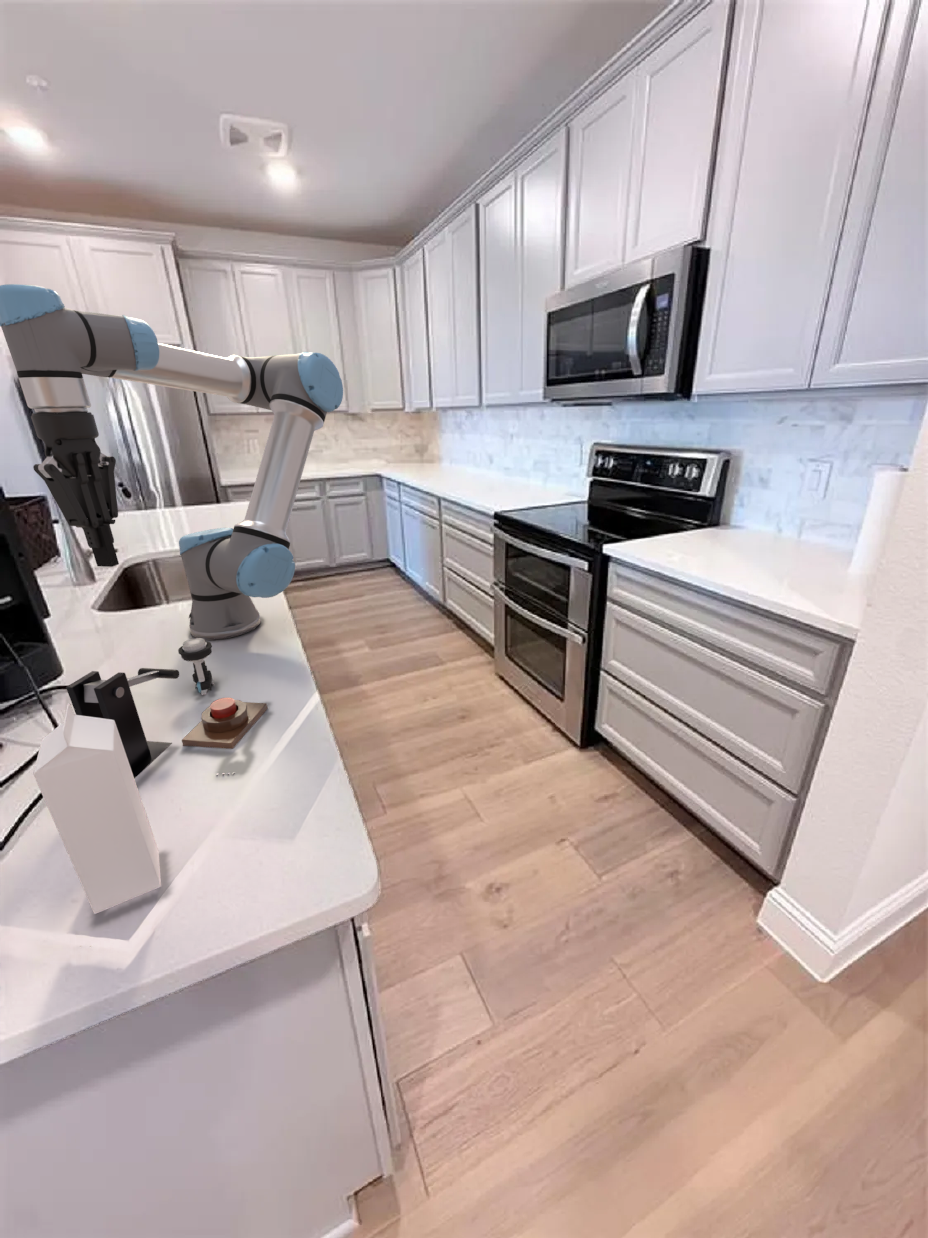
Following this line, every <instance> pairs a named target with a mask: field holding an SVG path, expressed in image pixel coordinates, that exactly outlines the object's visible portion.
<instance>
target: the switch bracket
mask: <svg viewBox="0 0 928 1238" xmlns="http://www.w3.org/2000/svg"><path fill="white" fill-rule="evenodd" d="M127 678H128V677H127V674H126V672H117V673H115V674H114V675H112V676H110V677H109V678H107V679H105V680H106V681H105V682H103V683H102V684H100V685H98V686H97V687H95V688H94V691H95V694H96V697H97V700H98V703H90V702H85V700H84V686H83V685H84V684H88V683H91V682H95V681H99V680H102V678H101V674H100V671H97V670H91V671H90V672H89V673H87V674H85V675H84V676H82V677H80V678H79V679H77V680H75V681H74V682H72V683H70V684H68V685H67V686H66V687H65V689H66V692H67V695H68V697H69V700H70V702H71V706H72V707H73V708H72V709H73V710H74V714H75V715H81V716H89V717H96V718H104V719H111V720H114V721H115V723H116V726H117V729H118V732H119V735H120V738H121V741H122V744H123V747H124V750H125V753H126V756H127V759H128V762H129V764H130V767H131V770H132V773H133V776H134V779H136V778H137V777H139V775H141V774H142V773H143V772H144V771H145V770H146V769H147V768H148V767H149V766H150V765H151V764H152V763H153V762H154V761H155V760H156V759H157V758H158V757H159V756H161V754H163V753H164V752H165V751H166V750H167V749H168V748H169V747H170V746H171V745H173V742H167V741H151V740H147V738H146V734H145V731H144V729H143V724H142V721H141V718H140V716H139V713H138V710H137V706H136V703H135V700H134V697H133V694H132V691H131V688H130V687H131V686H130V687H129V684H128V681H127Z"/></svg>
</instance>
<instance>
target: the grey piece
mask: <svg viewBox="0 0 928 1238" xmlns="http://www.w3.org/2000/svg"><path fill="white" fill-rule="evenodd" d="M212 647H213V644H212V642H210V641H209V640H206V639H203V638H196V637H194V638H190V639H187V640H185V641H183V643H182V645H181V646H180V647H179V648H178V649H177V652H178V654H179V655H180V658H182V660H183V661H186V662H191V663H192V665H193V666H192V667H193V674H192V675H191V676H192V677H191V678H192V681H193V682H194V689H195V690H196V689H197V690H198V691H197V692H198V694H200V693H201V694H200V695H201V696H205V695H207V692H209V691H213V689H212V685H214V684H215V683H214V680H213V674H212V671H211V670H208V666H207V665H206V661H205V659H207V658H208V656H211V654H212V652H213V651H212Z"/></svg>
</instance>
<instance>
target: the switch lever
mask: <svg viewBox="0 0 928 1238" xmlns="http://www.w3.org/2000/svg"><path fill="white" fill-rule="evenodd" d="M179 677H180V671H179V669H174V668H173V669H172V668H171V669H170V668H148V667H140V668H139V669H138V670H137V675H135V676H130V677H127V681H128V684H129V687H133V686H137V685H140V684H144V683H146V682H149V681H152V680H156V679H171V680H177V679H179ZM106 680H107V679H101V680H99V681H95V682H91V683H88V684H84V685H83V686H84V700H85V702H90V703H98V700H97V697H96V694H95V691H94V688H95V687H97V686H98V685H100V684H102V683H103V682H105V681H106Z"/></svg>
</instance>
